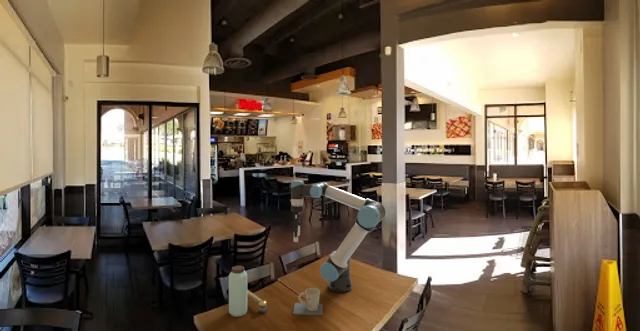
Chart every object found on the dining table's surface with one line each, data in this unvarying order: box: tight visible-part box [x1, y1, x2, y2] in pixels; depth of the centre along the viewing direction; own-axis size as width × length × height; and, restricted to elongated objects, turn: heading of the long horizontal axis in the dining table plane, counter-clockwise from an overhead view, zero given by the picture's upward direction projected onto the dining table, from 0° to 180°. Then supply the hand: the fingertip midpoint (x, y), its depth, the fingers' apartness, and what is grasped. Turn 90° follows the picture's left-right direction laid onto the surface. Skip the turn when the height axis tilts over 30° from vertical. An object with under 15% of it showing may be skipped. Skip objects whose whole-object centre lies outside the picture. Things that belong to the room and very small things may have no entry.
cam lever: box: [247, 289, 268, 308], centre depth 197 cm, size 4×26×3 cm, turn 40°
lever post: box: [258, 306, 268, 315], centre depth 189 cm, size 4×4×3 cm
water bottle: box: [228, 265, 248, 318], centre depth 187 cm, size 10×10×25 cm
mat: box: [292, 302, 324, 316], centre depth 193 cm, size 16×12×1 cm
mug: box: [297, 287, 321, 311], centre depth 193 cm, size 8×13×10 cm, turn 78°
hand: (296, 238), depth 218 cm, fingers open, 13 cm apart
